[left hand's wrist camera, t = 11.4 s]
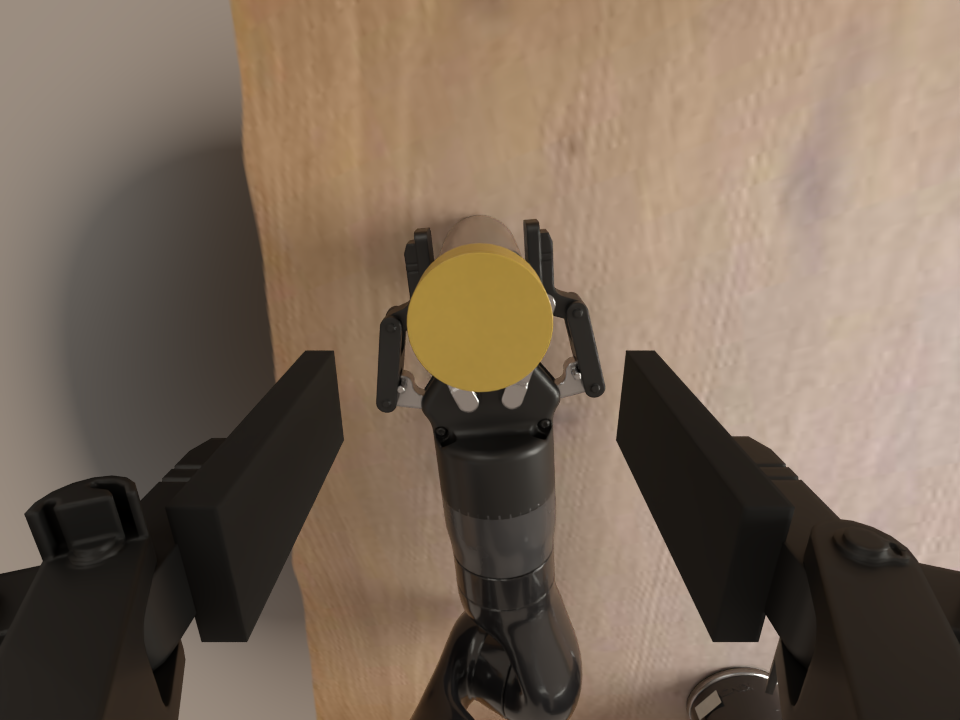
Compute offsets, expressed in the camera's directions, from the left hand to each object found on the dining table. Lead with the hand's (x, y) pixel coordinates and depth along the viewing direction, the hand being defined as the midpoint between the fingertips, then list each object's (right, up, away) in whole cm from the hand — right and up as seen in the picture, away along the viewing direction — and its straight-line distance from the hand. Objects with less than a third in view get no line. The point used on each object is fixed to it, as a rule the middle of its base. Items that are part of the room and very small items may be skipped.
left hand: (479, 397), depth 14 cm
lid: (0, +2, +6) cm, 7 cm away
